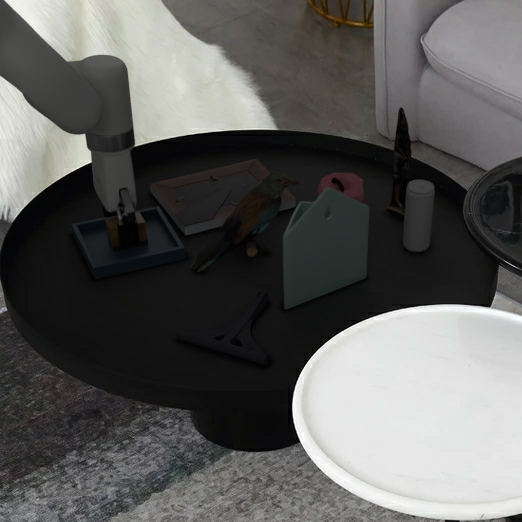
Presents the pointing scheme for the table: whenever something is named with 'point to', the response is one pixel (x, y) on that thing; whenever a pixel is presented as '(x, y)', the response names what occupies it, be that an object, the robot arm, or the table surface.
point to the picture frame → (211, 195)
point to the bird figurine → (247, 221)
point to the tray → (112, 263)
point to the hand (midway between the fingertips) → (121, 229)
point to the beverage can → (418, 215)
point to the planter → (324, 247)
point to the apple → (344, 185)
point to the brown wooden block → (113, 233)
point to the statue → (401, 166)
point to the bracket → (233, 334)
